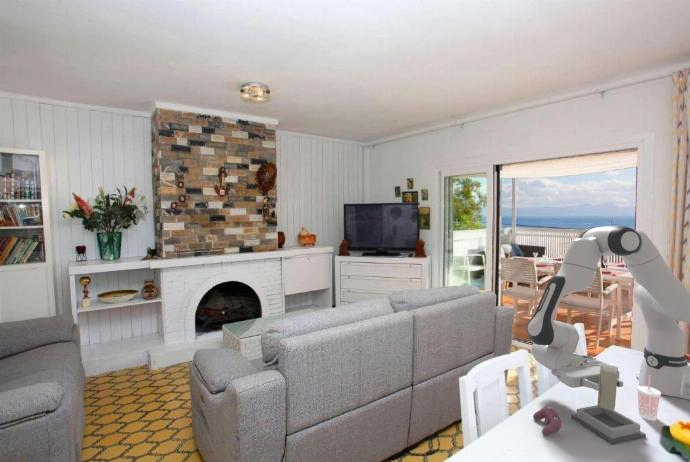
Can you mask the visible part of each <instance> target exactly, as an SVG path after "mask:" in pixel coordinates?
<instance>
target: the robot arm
mask: <svg viewBox="0 0 690 462" xmlns="http://www.w3.org/2000/svg"><path fill="white" fill-rule="evenodd" d="M564 253H565V254H564V255H563V259H562V262H561V266H560V268H559V270H558V272H557V273H556V275H554V276H552V277H551V278H550V280H548V282H547V284H546V287H545V289H544V290H543V291H544V292H543V293H542V295H541V298H540V300H539V303H538V305H537V307H536V310H535V311H534V313H533V315H532V316H531V318H530V319H529V321H528V323H527V325H526V332H527V335H528V338H529V339H530V341H531V342H532V343H533V344H532V346H531V355H532V356H533V358H534V360H535V361H536V362H538V363H539V364H540V365H542V366H543V367H545V368H546V369H548V370H550V372H551V374H552V375H553V376H554V377H556V379H557V381H559V382H561V383H562V384H563V385H565V386H566V387H568V388H573V389H574V388H580V387H584V388H587V389H593V390H594V391H595V392H598V391H599V390H601V387H602V386H601V385H600V384H599V379H600V368H601V364H602V363H603V364H607V365H609V364H608V363H606V362H603V361H601V360H597V357H595V356H591V355H581V354H577V353H575V351H576V348H577V346H578V343H579V341H580V340H579V339H580V337H579V336H580V335H579V332H578V330H577V328H576V327H575V326H574V325H573V324H570V323H567V322H564V321H560V320H559V321H558V320H555V319H554V317H555V314H556V312H557V309H558V307H559V304H560V303H561V301H562V299H563V298H564V297H565V296H566V295H568V294H571V293H577V292H582V291H584V290H587V289H589V288H590V287H591V286H592V285H593V283H594V281H595V278H596V273H597V269H598V265H599V261H600V259H601V257H603V256H604V257H610V256H619V257H621V258H622V260H623V263H624V265H625V266H626V267H627V269H628V271H629V273H630V275H631V276H632V278H633V280H634V281H635V282H636V283H637V284H639V285H638V286H636V288H635V289H634V291H633V299H634V301H635V302H636V304H637V305H638V307H639V308H640V311H641V314H642V317H643V320H644V324H645V347H644V348H643V349H644V350H643V357H644V358H641V362H640V367H639V373H637V374H636V376H635V377H636V378H637V380H638V384H639V386H648V378H649V375H650V387H652V388H654V389H657V390H658V391H660V392H661V395H664V396H668V397H675V398H680V399H684V400H687V401H690V365H689V364H688V361H690V354H688V353H685V346H686V345H685V343H686V334H685V333H684V331H683V330H682V328H681V327H680V325H679V324H678V322H684V323H685V322H686V323H690V288H689V289H688V287H686V285H685V284H684V283H683V282H682V281H681V280H680V279H679V278H678V277H677V276H676V275H675V274H674V273H673V272H672V270H671V269H670V268H669V266H668V264H667V263H666V261H665V259H664V258H663V256H662V254H661V253H660V250H659V249H658V248H657V246H656V245H655V244H654V242H653V241H652V239H650V237H649V236H648V235H647V234H646V233H645V232H644V231H641V230H639V229H634V228H632V227H628V226H626V225H625V226H622V225H620V226H616V225H605V226H597V227H596V226H595V227H589V228H586V229H584V230H583V231H581V233H580V234H579V236H578V237H577V238H574V239H572V240H571V241H570V242H569V245H568V247H567V249H566V251H565V252H564ZM622 387H624V382H623V380H620V371H619V370H618V375H617V388H622Z"/></svg>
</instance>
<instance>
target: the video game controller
mask: <svg viewBox="0 0 690 462" xmlns="http://www.w3.org/2000/svg"><path fill="white" fill-rule="evenodd" d="M532 417H533V419H534V420H535V421H540V420H541V421H542V420H544V421H543V422H544V425H546V426H544V427H543V428H542V431H541V433H542V435H543V436H547V437H548V436H552V435H554V434H555V433H556V432H558V431H560V430H561V429H562V427H563V421H562V420H561V417H560V415H559V412H558V411H557V410H555V408H553V407H551V406H544V407H542V408H541V409H540V410H537V411H536V412H534V414H533V415H532Z"/></svg>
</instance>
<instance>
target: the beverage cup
mask: <svg viewBox="0 0 690 462" xmlns="http://www.w3.org/2000/svg"><path fill="white" fill-rule="evenodd" d="M636 391H637V405H638V408H637V409H638V415H639V417H641V418H642V419H645V420H648V421H656V420H657V417H658V411H659V403H660V397H661V396H662V394H661V392H660V391H658V390H657V389H654V388H652V387H650V375H649V378H648V386H641V385H638V386H636Z"/></svg>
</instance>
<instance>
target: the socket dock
mask: <svg viewBox="0 0 690 462" xmlns="http://www.w3.org/2000/svg"><path fill="white" fill-rule="evenodd" d="M597 405H598V404H596V405H592V406H587V407H580V408H576V413H575V414H571V416H570V418H571V419H572V420H574V422H577V423H578V424H580V425H581V426H583V427H584V428H585V429H587V430H588V431H590V432H592V433H593V434H595V435H596V436H598V437H600V438H601V439H603V440H605V442H607V443H609V444H610V445H617V444H621V443H626V442H630V441H635V440H639V439H644V438H647V433H645V432H644V431H641V424H640V423H638V422H637V421H634V420H633V419H630V418H629V417H627V416H626V415H623V414H621V413H620V412H618V411H616V410H615V409H614V411H610V410H607V409H604V408H601V407H598V406H597Z"/></svg>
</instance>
